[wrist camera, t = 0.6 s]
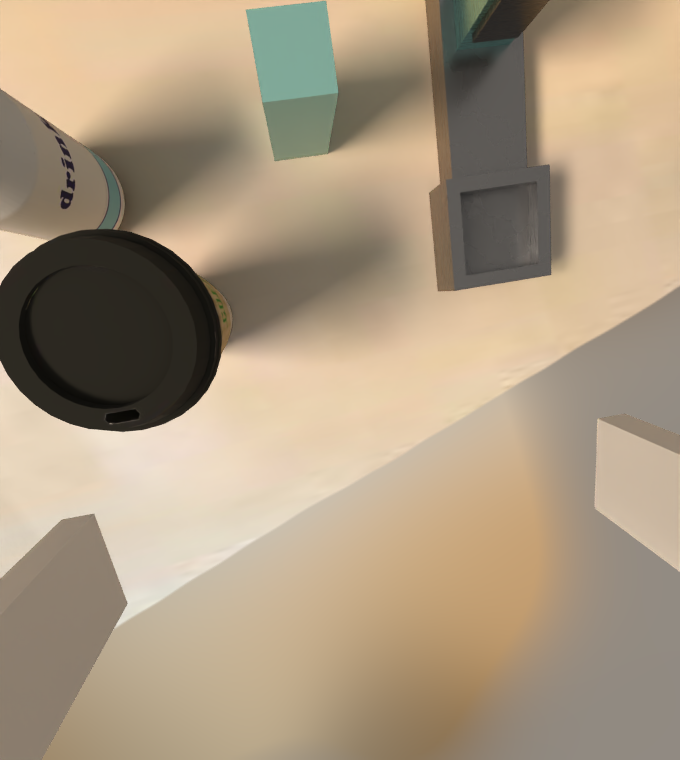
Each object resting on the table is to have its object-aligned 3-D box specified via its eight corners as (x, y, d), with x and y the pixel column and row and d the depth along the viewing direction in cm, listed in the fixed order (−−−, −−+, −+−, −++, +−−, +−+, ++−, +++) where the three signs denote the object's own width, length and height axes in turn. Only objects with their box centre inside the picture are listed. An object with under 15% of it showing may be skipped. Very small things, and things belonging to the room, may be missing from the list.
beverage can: (140, 243, 29) (32, 208, 17) (49, 253, 28) (-125, 224, 17) (118, 146, 27) (-19, 35, 16) (21, 154, 27) (-195, 47, 15)
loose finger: (262, 92, 27) (243, -3, 19) (317, 85, 28) (324, -11, 19) (274, 161, 29) (262, 102, 20) (327, 153, 29) (338, 92, 20)
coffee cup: (240, 248, 30) (181, 204, 15) (265, 365, 32) (234, 423, 18) (117, 267, 29) (-67, 239, 15) (152, 385, 32) (23, 462, 17)
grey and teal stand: (411, -13, 27) (487, -228, 16) (514, -25, 27) (658, -241, 16) (438, 291, 32) (509, 289, 21) (524, 276, 33) (638, 267, 22)
